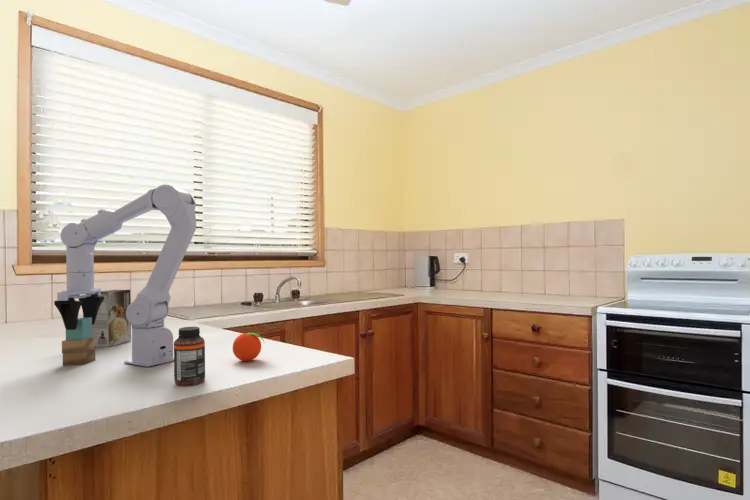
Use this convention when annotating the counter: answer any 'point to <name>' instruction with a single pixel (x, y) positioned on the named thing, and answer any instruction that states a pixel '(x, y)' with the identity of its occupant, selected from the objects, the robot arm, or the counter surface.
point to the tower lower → (79, 358)
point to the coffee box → (112, 319)
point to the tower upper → (77, 345)
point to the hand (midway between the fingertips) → (80, 327)
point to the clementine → (247, 346)
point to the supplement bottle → (189, 357)
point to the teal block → (81, 330)
